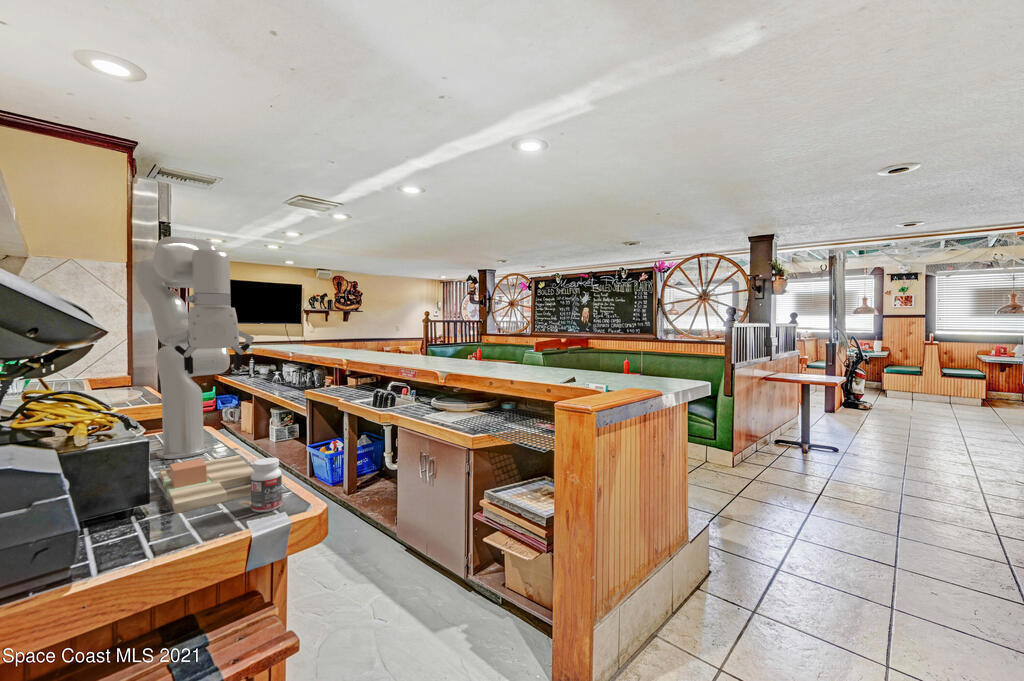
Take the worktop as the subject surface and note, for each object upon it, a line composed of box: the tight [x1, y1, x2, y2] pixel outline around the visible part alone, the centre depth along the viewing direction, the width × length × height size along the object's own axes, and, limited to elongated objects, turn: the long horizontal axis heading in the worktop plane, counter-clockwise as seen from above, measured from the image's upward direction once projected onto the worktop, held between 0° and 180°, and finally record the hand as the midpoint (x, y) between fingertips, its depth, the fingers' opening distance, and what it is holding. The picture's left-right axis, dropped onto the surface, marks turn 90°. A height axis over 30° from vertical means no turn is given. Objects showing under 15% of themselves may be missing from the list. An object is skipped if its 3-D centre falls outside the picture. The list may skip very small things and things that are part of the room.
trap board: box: [158, 454, 255, 514], centre depth 107 cm, size 27×17×2 cm, turn 43°
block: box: [169, 458, 207, 489], centre depth 103 cm, size 6×6×4 cm
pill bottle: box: [250, 457, 283, 513], centre depth 94 cm, size 6×6×10 cm
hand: (214, 371), depth 110 cm, fingers open, 9 cm apart
